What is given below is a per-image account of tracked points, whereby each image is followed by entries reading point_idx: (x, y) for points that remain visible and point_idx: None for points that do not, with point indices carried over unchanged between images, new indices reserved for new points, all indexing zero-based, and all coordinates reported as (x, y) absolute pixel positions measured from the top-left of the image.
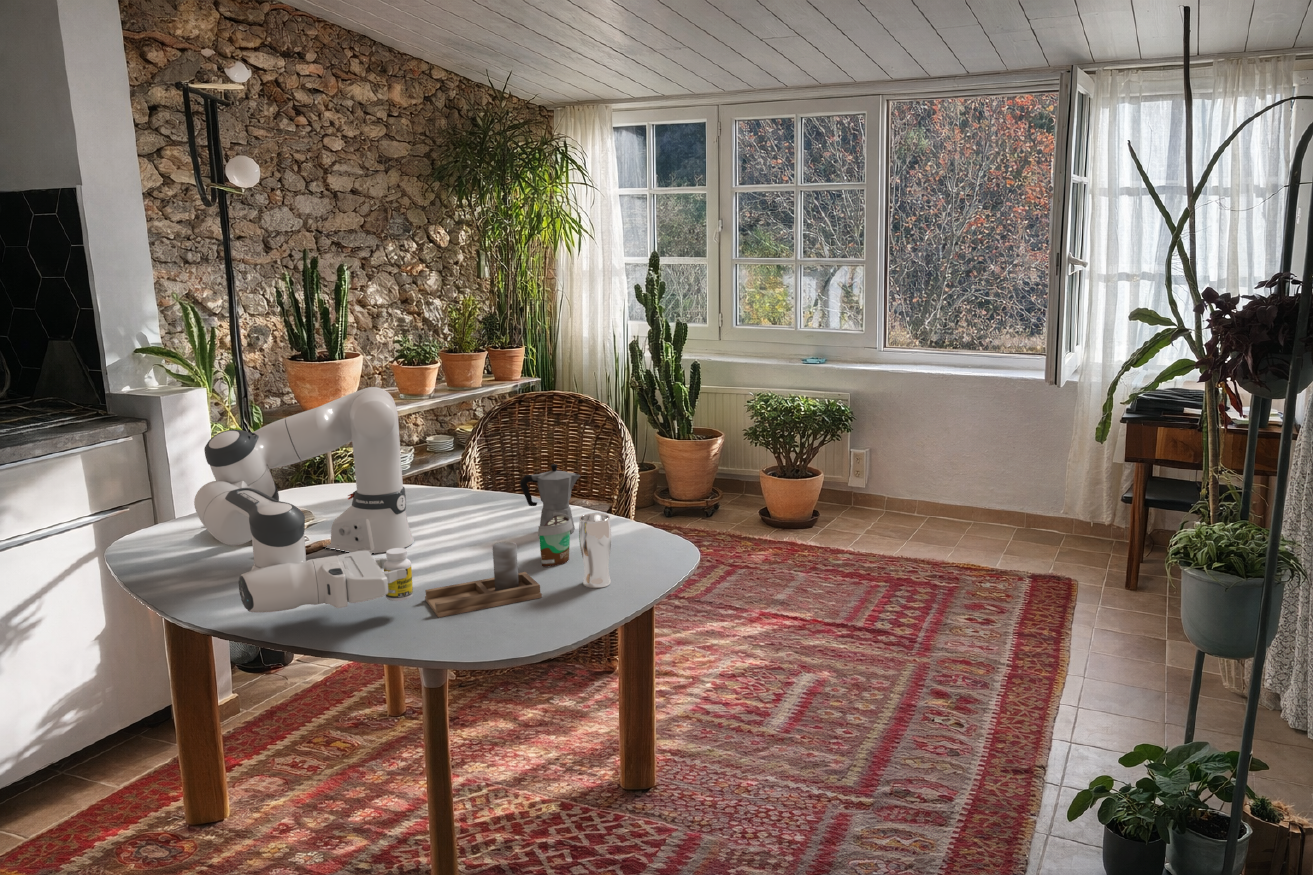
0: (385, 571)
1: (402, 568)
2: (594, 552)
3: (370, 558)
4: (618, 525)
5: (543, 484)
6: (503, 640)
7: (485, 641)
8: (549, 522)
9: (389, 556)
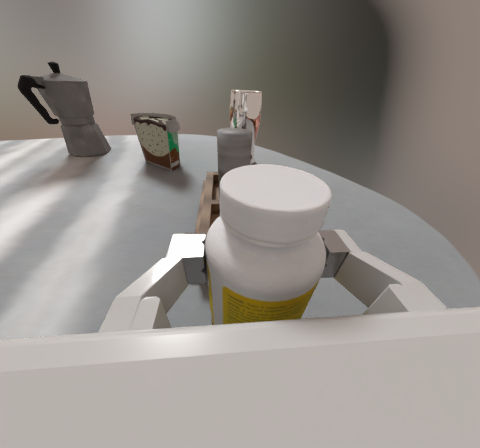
0: (399, 296)
1: (330, 233)
2: (257, 128)
3: (157, 359)
4: (127, 137)
5: (62, 89)
6: (384, 225)
7: (392, 239)
8: (153, 120)
9: (318, 222)
